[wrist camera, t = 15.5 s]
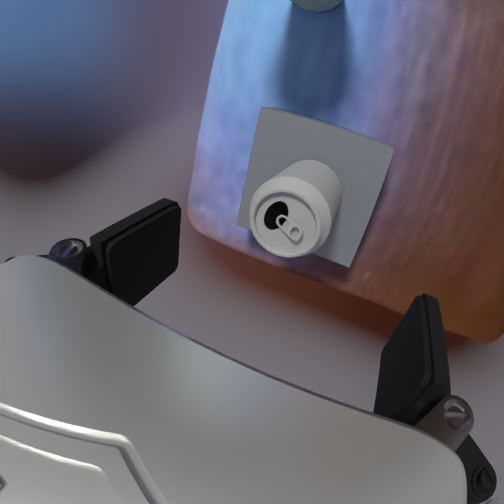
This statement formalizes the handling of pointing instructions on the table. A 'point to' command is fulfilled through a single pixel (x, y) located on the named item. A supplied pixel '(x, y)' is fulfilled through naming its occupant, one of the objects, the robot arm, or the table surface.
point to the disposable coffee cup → (317, 4)
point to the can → (295, 209)
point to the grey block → (331, 154)
